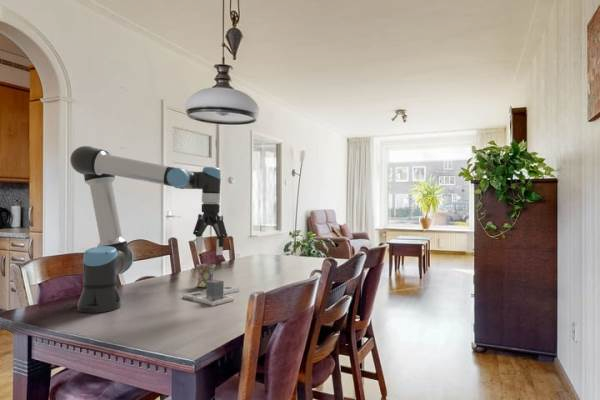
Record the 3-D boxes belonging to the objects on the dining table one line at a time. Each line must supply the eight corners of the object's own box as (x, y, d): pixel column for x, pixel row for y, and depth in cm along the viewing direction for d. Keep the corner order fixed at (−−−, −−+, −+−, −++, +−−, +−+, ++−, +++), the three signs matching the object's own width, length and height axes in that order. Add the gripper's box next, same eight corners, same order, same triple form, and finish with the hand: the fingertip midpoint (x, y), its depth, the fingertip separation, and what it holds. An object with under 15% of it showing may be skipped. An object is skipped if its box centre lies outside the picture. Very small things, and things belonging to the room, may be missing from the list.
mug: (217, 284, 203) (217, 263, 203) (213, 288, 194) (213, 266, 194) (193, 284, 203) (193, 263, 204) (188, 288, 194) (188, 266, 194)
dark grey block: (214, 302, 166) (214, 282, 166) (206, 300, 169) (206, 281, 170) (223, 300, 170) (223, 281, 170) (215, 298, 173) (215, 279, 173)
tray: (212, 305, 162) (213, 301, 162) (196, 301, 169) (196, 297, 169) (233, 300, 171) (233, 297, 171) (216, 296, 178) (216, 293, 178)
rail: (193, 301, 169) (193, 297, 169) (182, 298, 174) (182, 294, 174) (239, 291, 190) (239, 287, 190) (228, 288, 195) (228, 285, 195)
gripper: (236, 204, 166) (235, 255, 166) (200, 202, 182) (198, 249, 182) (222, 204, 161) (221, 257, 160) (186, 202, 176) (184, 250, 176)
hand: (209, 253), depth 171 cm, fingers open, 13 cm apart
